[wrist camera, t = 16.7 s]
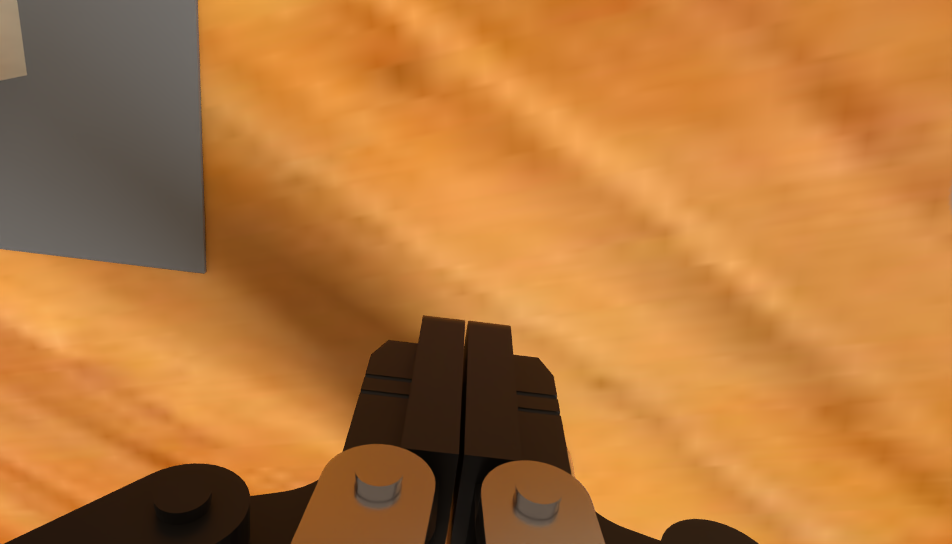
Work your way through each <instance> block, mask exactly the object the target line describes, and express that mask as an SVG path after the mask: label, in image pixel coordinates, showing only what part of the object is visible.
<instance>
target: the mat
mask: <svg viewBox="0 0 952 544" xmlns="http://www.w3.org/2000/svg"><path fill="white" fill-rule="evenodd" d="M17 3H18V11H19V18H20V26H21V33H22V41H23V48H24V56H25V63H26V71H27V75H25V76H20V77H15V78H11V79H6V80H1V81H0V249H5V250H14V251H22V252H30V253H38V254H47V255H55V256H63V257H71V258H80V259H88V260H96V261H104V262H113V263H121V264H129V265H137V266H146V267H154V268H162V269H170V270H179V271H187V272H195V273H203V274H205V273H206V247H205V216H204V185H203V154H202V123H201V92H200V61H199V30H198V0H17Z"/></svg>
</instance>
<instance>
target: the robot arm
mask: <svg viewBox="0 0 952 544" xmlns="http://www.w3.org/2000/svg"><path fill="white" fill-rule="evenodd" d="M464 333H465V320H457V319H449V318H440V317H432V316H424V315H423V319H422V325H421V331H420V336H419V342H418V344H417V343H408V342H400V341H391V340H388V341H387V342H386V343H384V344H383V345H382V346H381V347H380V348H379V349H377V350H376V351H375V352H374V353H373V354H371V357H370V360H369V364H368V367H367V371H366V375H365V377H364V381H363V384H362V388H361V393H360V394H359V398H358V401H357V405H356V408H355V411H354V415H353V418H352V422H351V425H350V429H349V432H348V435H347V439H346V442H345V446H344V449H343V452H342V453H340V454H338V455H337V456H335V457H334V458H333V459H331V460H330V462H329V463H328V464H327V465H326V466H325V468H324V470H323V471H322V474H321V476H320V478H319V480H317V481H315V482H314V483H311V484H309V485H307V486H304V487H301V488H298V489H294V490H290V491H285V492H278V493H271V494H263V495H256V496H250V494H249V490H248V487H247V485H246V484H245V482H244V481H243V480H242V479H241V478H240V477H239V476H238V475H237V474H235V473H234V472H232V471H230V470H228V469H226V468H223V467H219V466H216V465H210V464H183V465H178V466H173V467H169V468H166V469H162V470H160V471H157V472H155V473H152V474H150V475H148V476H146V477H144V478H142V479H140V480H137V481H135V482H133V483H131V484H129V485H127V486H125V487H123V488H121V489H118V490H116V491H114V492H112V493H110V494H108V495H106V496H104V497H102V498H99V499H97V500H95V501H93V502H91V503H89V504H87V505H85V506H83V507H80V508H78V509H76V510H74V511H72V512H70V513H68V514H66V515H64V516H62V517H59V518H57V519H55V520H53V521H51V522H49V523H47V524H45V525H43V526H40V527H38V528H36V529H34V530H32V531H30V532H28V533H26V534H24V535H21V536H19V537H17V538H15V539H13V540H11V541H9V542H7V543H5V544H758V543H757V542H756V541H754V540H753V539H751V538H750V537H748V536H747V535H745V534H744V533H742V532H740V531H738V530H736V529H734V528H732V527H729V526H727V525H724V524H721V523H718V522H715V521H709V520H703V519H689V520H683V521H679V522H677V523H675V524H673V525H671V526H670V527H669V528H668V529H667V530H666V531H665V533H664V534H663V536H662V539H661V541H660V540H657V539H654V538H651V537H648V536H646V535H643V534H640V533H637V532H634V531H632V530H629V529H626V528H624V527H621V526H619V525H617V524H615V523H613V522H611V521H609V520H607V519H605V518H604V517H602V516H601V515H599V514H598V513H597V512H595V510H594V506H593V503H592V500H591V498H590V496H589V494H588V492H587V491H586V489H585V488H584V486H583V485H582V484H581V483H580V482H579V481H578V480H577V479H575V474H574V469H573V464H572V460H571V456H570V453H569V451H568V449H567V447H566V442H565V436H564V431H563V425H562V420H561V416H560V409H559V403H558V399H557V393H556V387H555V382H554V376H553V375H552V374H551V372H550V371H549V370H548V369H547V368H546V366H545V365H544V364H543V363H542V362H541V361H540V359H539V358H536V357H528V356H519V355H513V347H512V335H511V327H510V326H508V325H500V324H491V323H483V322H475V321H468V325H467V331H466V337H465V344H464Z"/></svg>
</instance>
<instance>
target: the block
mask: <svg viewBox="0 0 952 544" xmlns="http://www.w3.org/2000/svg"><path fill="white" fill-rule="evenodd" d="M25 75H27V71H26V63H25V56H24V48H23V41H22V33H21V26H20V18H19V11H18V3H17V0H0V81H1V80H6V79H11V78H15V77H20V76H25Z"/></svg>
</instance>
